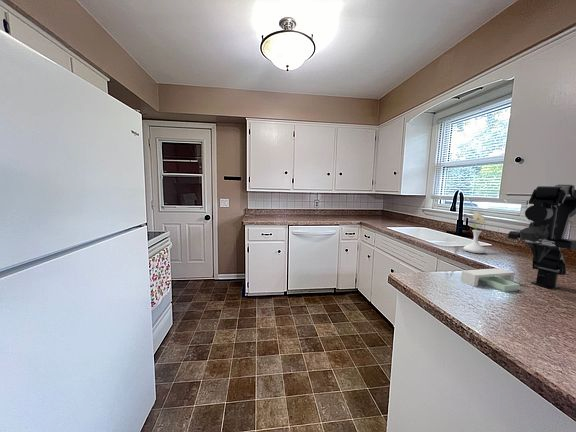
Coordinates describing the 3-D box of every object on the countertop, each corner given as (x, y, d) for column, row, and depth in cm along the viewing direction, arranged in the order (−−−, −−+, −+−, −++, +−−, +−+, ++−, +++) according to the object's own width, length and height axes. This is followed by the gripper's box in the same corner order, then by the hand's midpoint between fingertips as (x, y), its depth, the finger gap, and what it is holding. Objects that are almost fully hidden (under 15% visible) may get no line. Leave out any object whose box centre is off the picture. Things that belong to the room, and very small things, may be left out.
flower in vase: (489, 255, 149) (495, 214, 146) (467, 253, 152) (472, 213, 149) (479, 250, 161) (484, 212, 159) (459, 248, 165) (463, 211, 162)
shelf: (499, 278, 109) (500, 268, 108) (513, 283, 103) (515, 272, 103) (460, 281, 103) (462, 270, 102) (473, 286, 97) (475, 275, 97)
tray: (488, 279, 106) (489, 274, 106) (518, 290, 95) (519, 284, 95) (474, 281, 104) (475, 275, 103) (503, 292, 93) (504, 285, 93)
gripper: (500, 217, 97) (494, 255, 99) (563, 224, 80) (555, 271, 81) (520, 217, 101) (514, 254, 102) (585, 224, 83) (577, 269, 85)
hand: (537, 261), depth 93 cm, fingers closed
